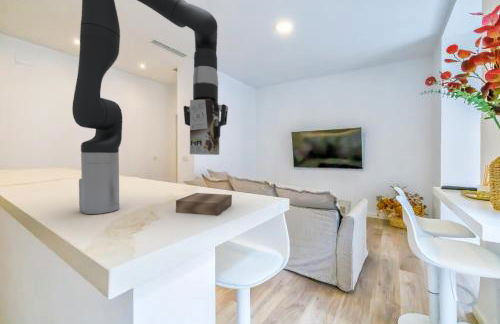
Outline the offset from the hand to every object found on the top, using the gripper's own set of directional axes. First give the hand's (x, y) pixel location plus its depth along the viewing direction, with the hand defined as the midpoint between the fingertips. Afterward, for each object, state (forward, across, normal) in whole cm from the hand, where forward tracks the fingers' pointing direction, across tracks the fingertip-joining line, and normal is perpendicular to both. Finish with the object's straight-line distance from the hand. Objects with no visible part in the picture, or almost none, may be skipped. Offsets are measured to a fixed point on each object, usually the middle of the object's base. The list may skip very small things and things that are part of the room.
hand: (205, 139), depth 69 cm
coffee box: (+5, 0, 0) cm, 5 cm away
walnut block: (+22, 0, 0) cm, 22 cm away
